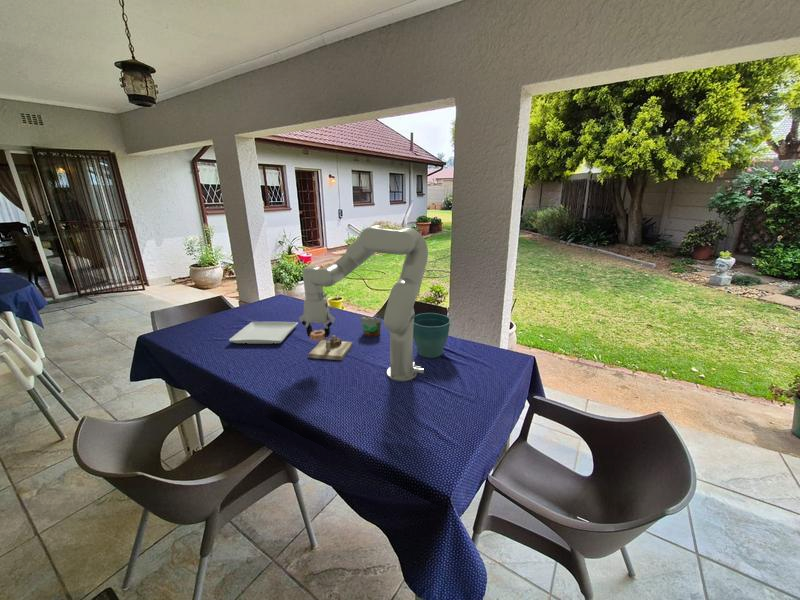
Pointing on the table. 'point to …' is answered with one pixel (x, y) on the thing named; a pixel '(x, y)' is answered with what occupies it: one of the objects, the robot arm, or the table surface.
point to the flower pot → (431, 333)
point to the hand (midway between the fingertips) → (318, 335)
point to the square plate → (264, 332)
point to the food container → (371, 326)
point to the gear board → (331, 349)
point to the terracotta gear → (317, 335)
